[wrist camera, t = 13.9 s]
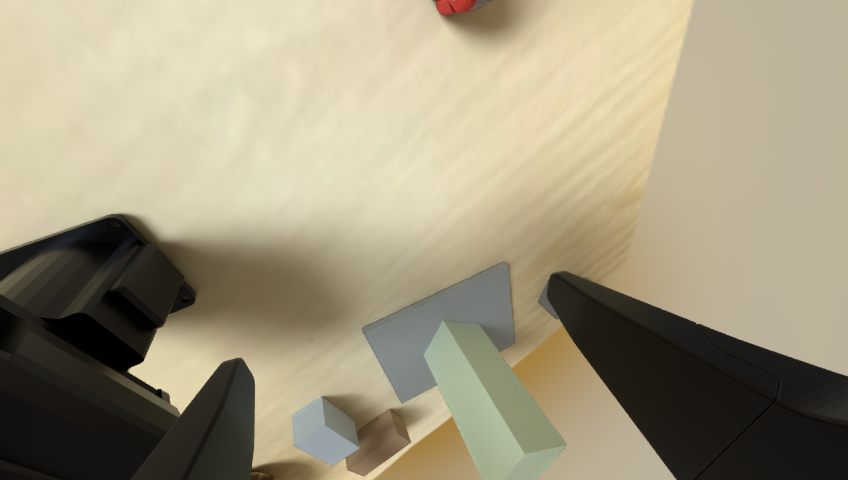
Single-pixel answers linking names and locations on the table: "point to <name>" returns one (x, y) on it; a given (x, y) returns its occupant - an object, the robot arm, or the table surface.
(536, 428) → the sage brick
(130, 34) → the table surface
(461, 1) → the toy fire truck
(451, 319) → the slate mat
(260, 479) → the mushroom
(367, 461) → the walnut brick
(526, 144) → the table surface
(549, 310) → the charcoal brick
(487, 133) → the table surface
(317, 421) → the dusty blue brick
